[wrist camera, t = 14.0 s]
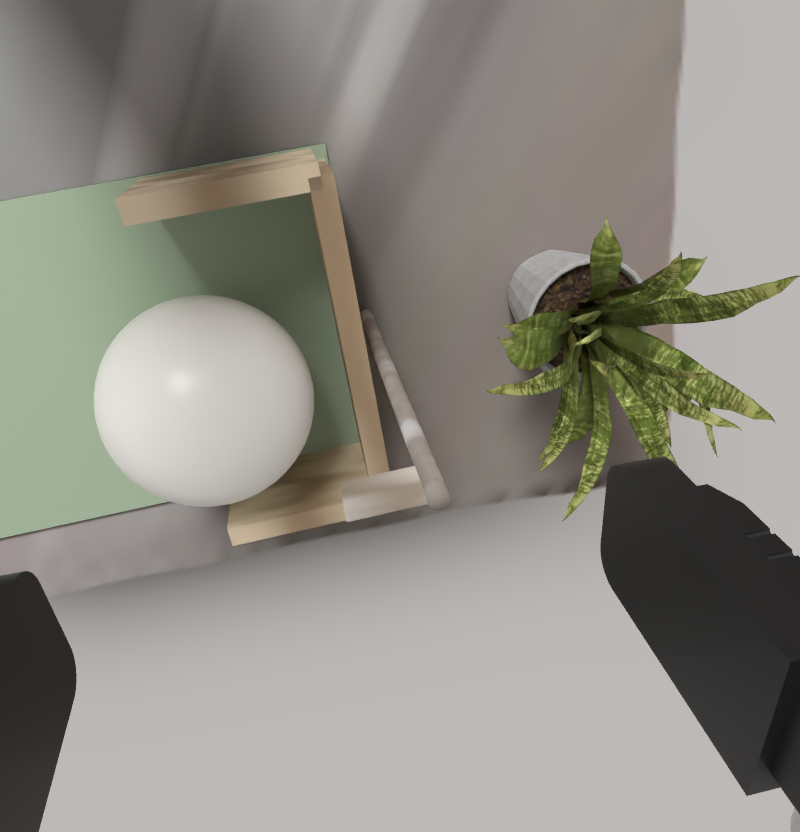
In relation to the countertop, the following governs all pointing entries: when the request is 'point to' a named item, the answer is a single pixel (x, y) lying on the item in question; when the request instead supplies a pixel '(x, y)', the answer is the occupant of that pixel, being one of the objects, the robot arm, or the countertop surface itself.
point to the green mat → (119, 304)
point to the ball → (203, 400)
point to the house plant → (617, 348)
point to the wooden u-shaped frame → (365, 461)
